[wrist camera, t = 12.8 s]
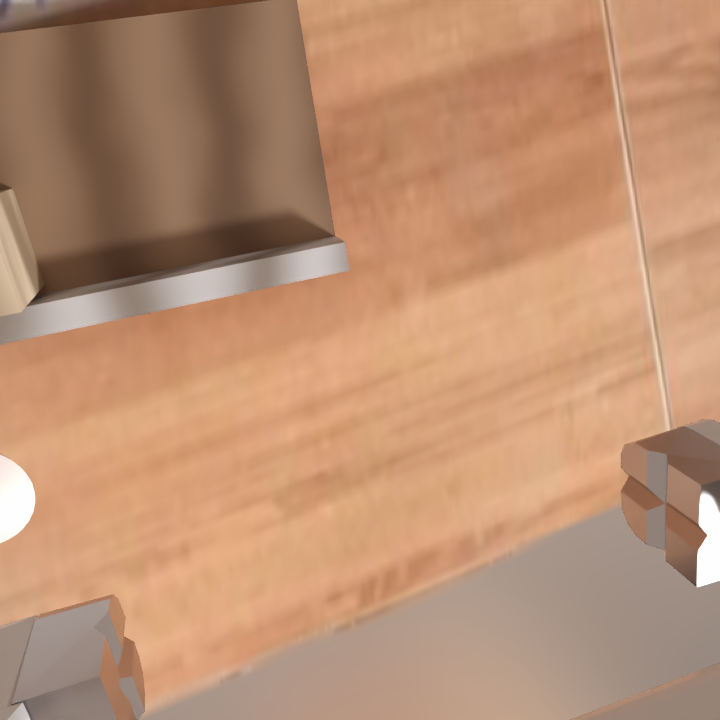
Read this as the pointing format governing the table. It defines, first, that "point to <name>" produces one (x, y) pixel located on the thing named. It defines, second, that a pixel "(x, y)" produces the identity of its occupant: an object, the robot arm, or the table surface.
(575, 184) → the table surface
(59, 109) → the walnut board
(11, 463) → the champagne flute
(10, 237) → the marking gauge
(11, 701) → the robot arm
